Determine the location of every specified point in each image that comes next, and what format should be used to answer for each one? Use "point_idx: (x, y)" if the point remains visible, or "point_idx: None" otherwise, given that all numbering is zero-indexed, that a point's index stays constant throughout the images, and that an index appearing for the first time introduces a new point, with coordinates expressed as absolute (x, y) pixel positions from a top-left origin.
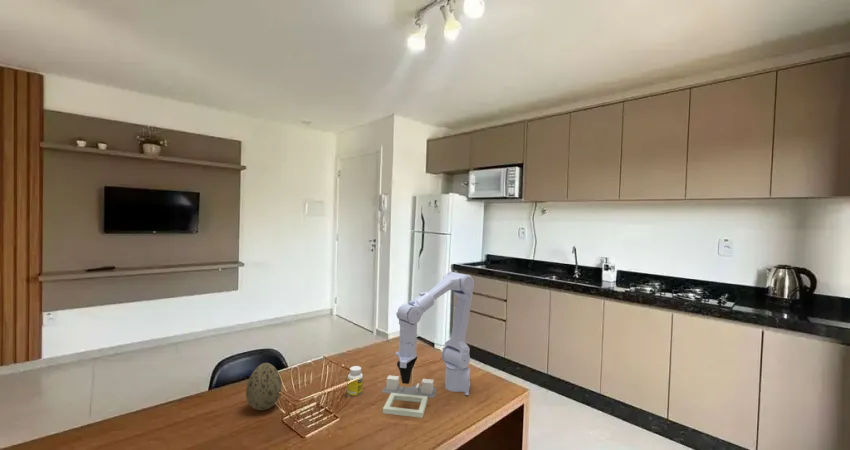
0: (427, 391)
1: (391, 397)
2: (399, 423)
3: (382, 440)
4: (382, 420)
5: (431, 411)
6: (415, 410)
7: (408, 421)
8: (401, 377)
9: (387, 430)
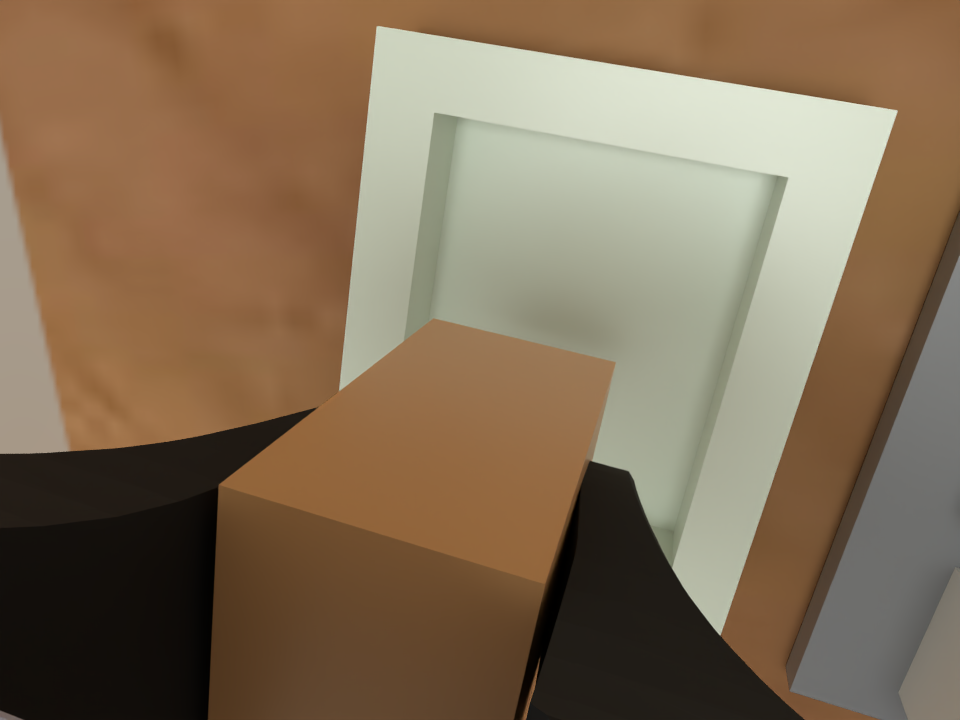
0: (932, 661)
1: (711, 129)
2: (294, 250)
3: (16, 91)
4: (329, 46)
5: None
6: None
7: (339, 344)
8: (267, 423)
9: (163, 126)
